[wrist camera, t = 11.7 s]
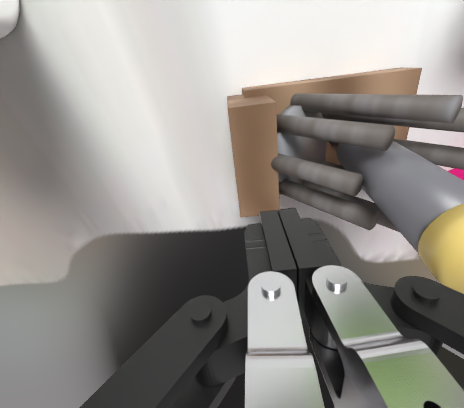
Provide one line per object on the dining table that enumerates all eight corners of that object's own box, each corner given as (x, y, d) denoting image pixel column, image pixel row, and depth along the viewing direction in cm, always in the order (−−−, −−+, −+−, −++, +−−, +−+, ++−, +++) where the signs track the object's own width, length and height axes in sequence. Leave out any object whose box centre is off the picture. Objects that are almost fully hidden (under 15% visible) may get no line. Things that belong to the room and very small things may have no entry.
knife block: (237, 187, 26) (245, 266, 16) (226, 89, 21) (227, 113, 11) (390, 170, 25) (499, 240, 15) (410, 66, 21) (582, 68, 11)
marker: (333, 172, 19) (435, 310, 8) (336, 128, 17) (466, 231, 7) (379, 168, 18) (545, 308, 8) (387, 123, 17) (604, 223, 6)
